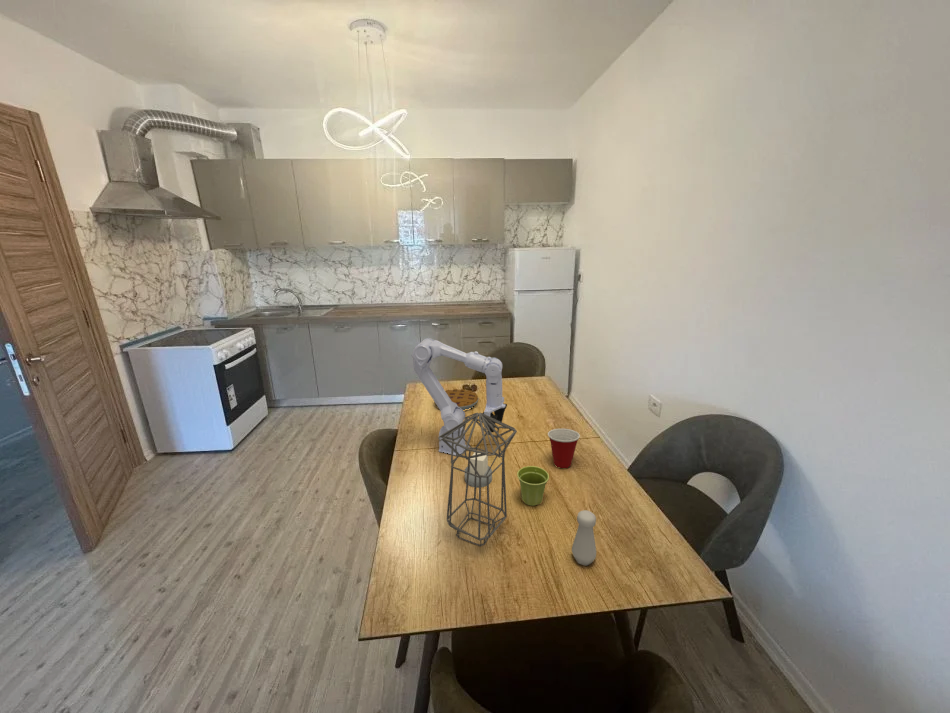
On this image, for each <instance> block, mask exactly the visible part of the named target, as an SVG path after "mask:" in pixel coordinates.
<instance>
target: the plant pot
mask: <svg viewBox="0 0 950 713" xmlns="http://www.w3.org/2000/svg"><path fill="white" fill-rule="evenodd" d="M516 474H517V479H518V480H519V486H520V492H521V500H522V501H523V502H524V504H526V505H528V506H531V507H532V506H534V507H535V506H536V505H540V504H542V502H543V498H544V494H545V488H546V485H547V483H548V481H549V479H550V474H549V472H547V470H545V469H544V468H542V467H539V466H536V465H527V466H523V467H522V468H519V469H518V471H517V473H516Z"/></svg>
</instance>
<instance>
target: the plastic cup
mask: <svg viewBox="0 0 950 713" xmlns="http://www.w3.org/2000/svg"><path fill="white" fill-rule="evenodd" d="M580 436H581V435H580V433H579V432H578V431H576V430H573V429H569V428H554V429H553V428H552V429H551V430H549V431H548V432H547V437H548V438H549V442H550V447H551V453H552V454H551V455H552V462H553V465H554V464H555V465H556V466H557V467H556V466H555V465H554V466H555V467H556V468H558V467H560V468H567V469H569V468H570V467H571V465H572V463H573V459H574V456H575V451H576V448H577V444H578V441H579V439H580ZM569 466H570V467H569ZM568 467H569V468H568ZM560 468H559V469H560Z"/></svg>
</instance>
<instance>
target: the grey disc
mask: <svg viewBox="0 0 950 713" xmlns="http://www.w3.org/2000/svg"><path fill="white" fill-rule="evenodd" d="M489 468H490V465H488V469H487V471H486V473H487V472H488V470H489ZM467 469H468V465H467V466H466V467H465V468H464V471H467ZM492 471H493V469H492V468H491V469H490V471H489V472H488V474H487V476H488V475H489V474H490V473H491V472H492ZM469 473H470V468H469ZM486 473H485V474H484V475H486ZM477 476H478V475H477ZM474 481H475V476H473V475H470V474H469V480H468V487H472V488H474ZM464 482H465V483H466V482H467V473H465V472H464ZM492 482H493V474H492V475H491V476H490V477H489V485H490V484H491V483H492ZM485 487H487V478H481V488H485ZM477 488H478V489H479V478H478V477H476V489H477Z"/></svg>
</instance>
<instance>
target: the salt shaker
mask: <svg viewBox="0 0 950 713" xmlns="http://www.w3.org/2000/svg"><path fill="white" fill-rule="evenodd" d="M576 521H577V524H578V526H577V527H578V528H577V529H576V532H575V533H576V534H575V537H574V540H573V543H572V546H571V552H572V553H571V554H572V555H573V558H574V559H575V561H576V562H577V564H578V565H581V566H585V567H586V566H589V565H591V564H592V563H593V562H594V560H595V559H596V557H597V546H596V541H595V533H594V532H595V531H594V527H595V526H596V524H597V517H596V515H595V514H594V513H593V512H592V511H590V510H587V509H586V510H585V509H584V510H580V511H579V512H578V513H577V517H576Z"/></svg>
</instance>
